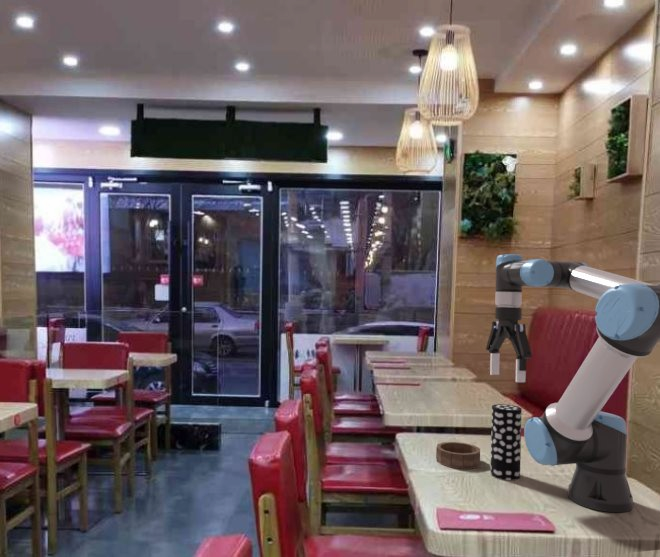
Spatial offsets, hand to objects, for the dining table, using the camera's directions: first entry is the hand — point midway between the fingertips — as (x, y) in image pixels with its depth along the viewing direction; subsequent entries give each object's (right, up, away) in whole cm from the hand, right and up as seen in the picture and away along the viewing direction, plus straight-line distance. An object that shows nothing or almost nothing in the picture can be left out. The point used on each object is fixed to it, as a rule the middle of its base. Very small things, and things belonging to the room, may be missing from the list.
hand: (507, 378), depth 159 cm
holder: (-12, -28, +11) cm, 33 cm away
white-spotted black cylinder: (-1, -29, -1) cm, 29 cm away
